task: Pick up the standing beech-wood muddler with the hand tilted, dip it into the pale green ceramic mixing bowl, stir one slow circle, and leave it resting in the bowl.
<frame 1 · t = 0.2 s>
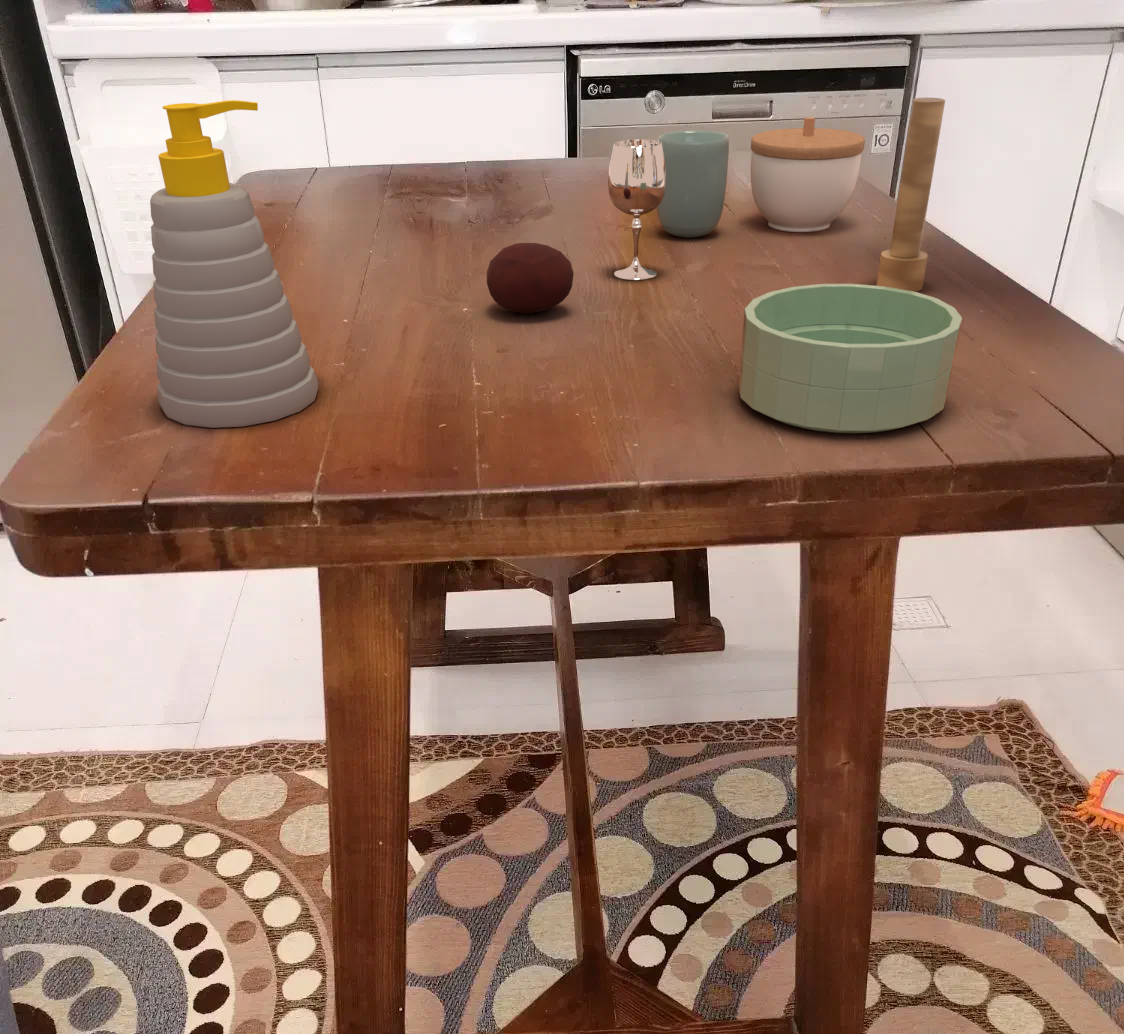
muddler: (899, 286, 108), on the table
cup: (688, 235, 127), on the table
mixing bowl: (839, 400, 84), on the table
wineglass: (635, 276, 114), on the table
soap bottle: (241, 401, 87), on the table
lidded bowl: (798, 226, 129), on the table
potato: (528, 314, 104), on the table
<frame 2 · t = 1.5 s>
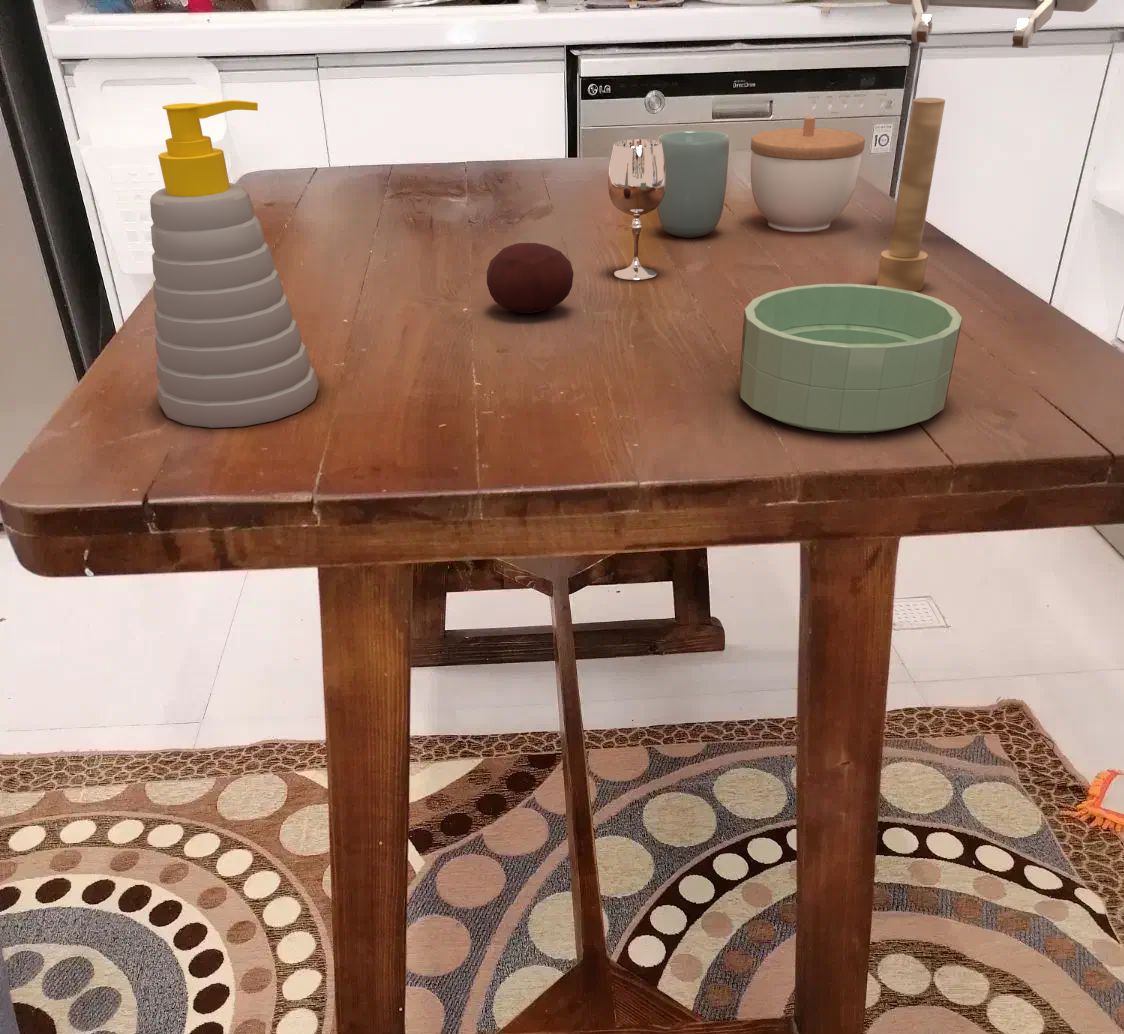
hand: (968, 40, 104), 19 cm above the table, tool tilted 45°, fingers open, 8 cm apart
nothing on the table moved.
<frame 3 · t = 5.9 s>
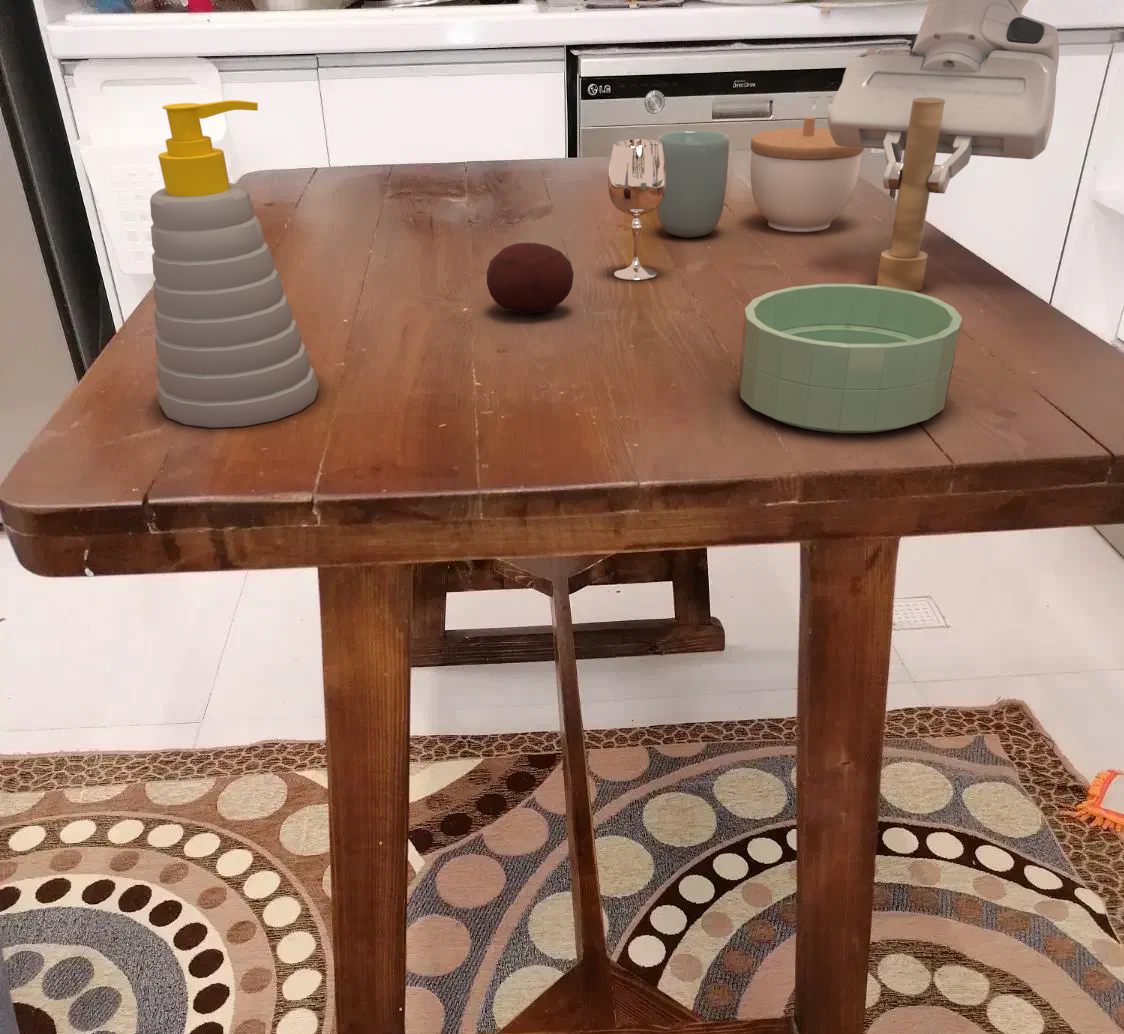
hand: (913, 187, 102), 9 cm above the table, tool tilted 45°, fingers closed on muddler, 3 cm apart
muddler: (899, 286, 108), on the table, touching gripper
everything else where it was.
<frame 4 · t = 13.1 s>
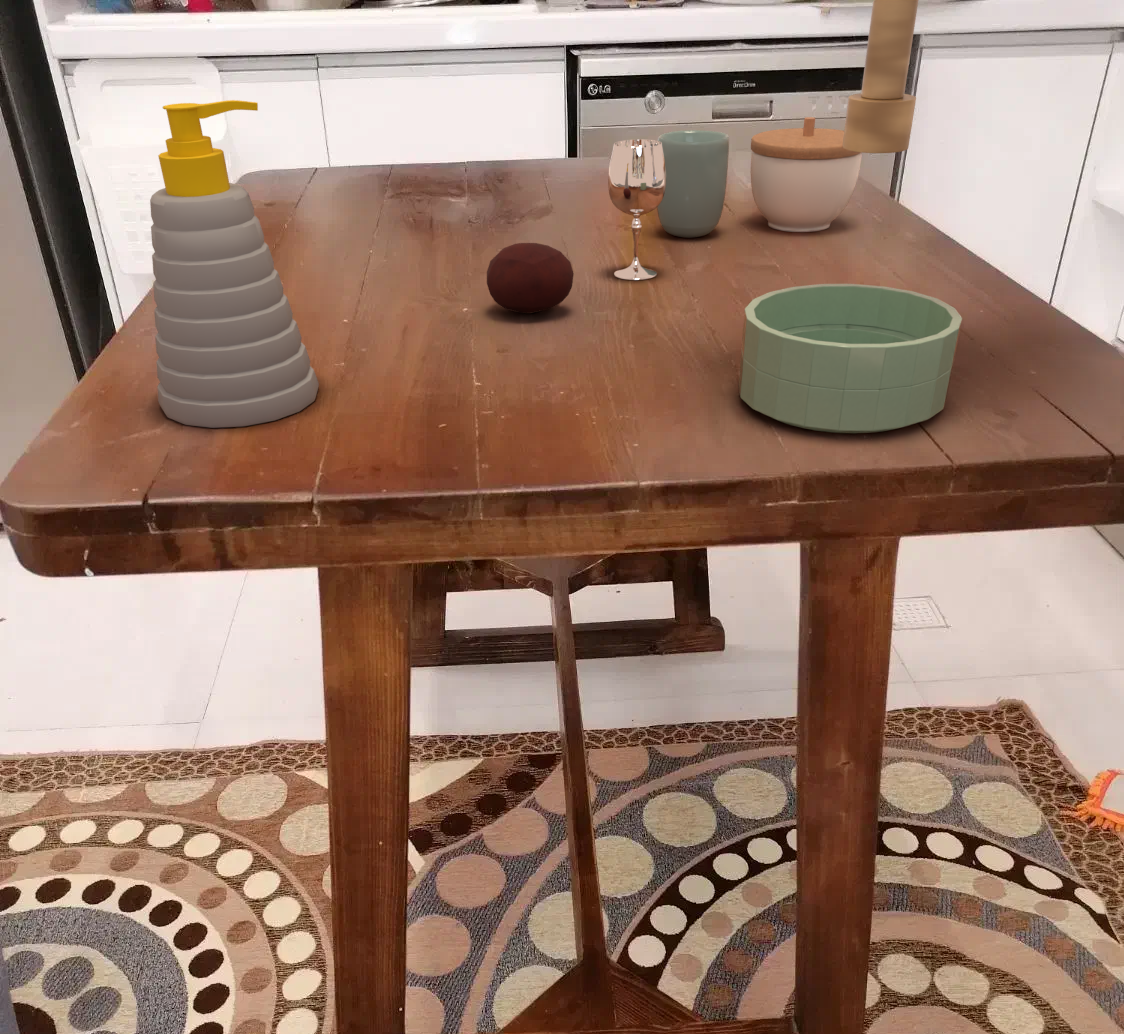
muddler: (875, 147, 75), point 17 cm above the table, touching gripper
everything else where it was.
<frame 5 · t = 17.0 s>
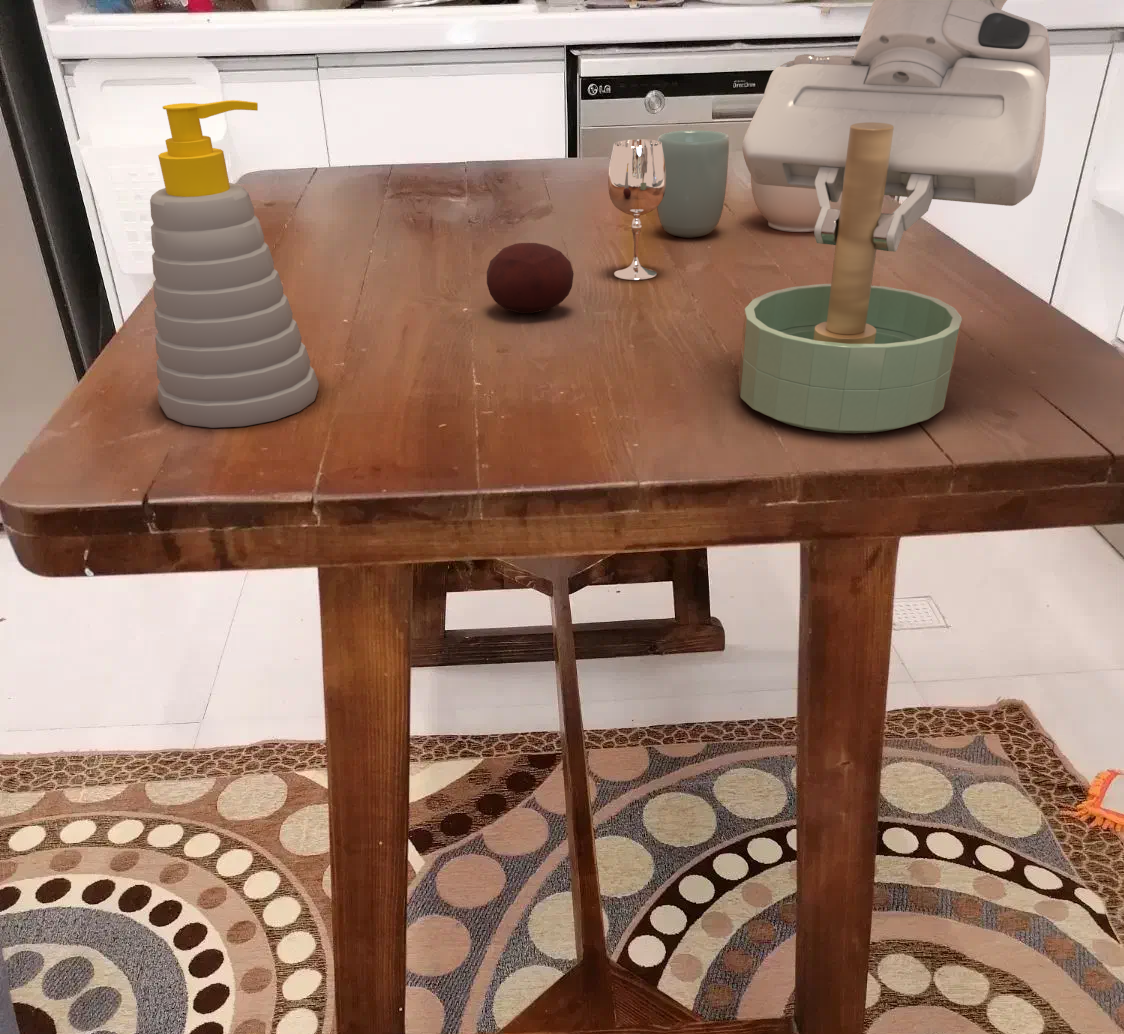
hand: (854, 242, 76), 12 cm above the table, tool tilted 45°, fingers closed on muddler, 3 cm apart
muddler: (840, 370, 82), point 3 cm above the table, touching gripper
everything else where it was.
when the fingers open (9 cm above the table, at t = 20.3 s): muddler stays where it is, resting on mixing bowl.
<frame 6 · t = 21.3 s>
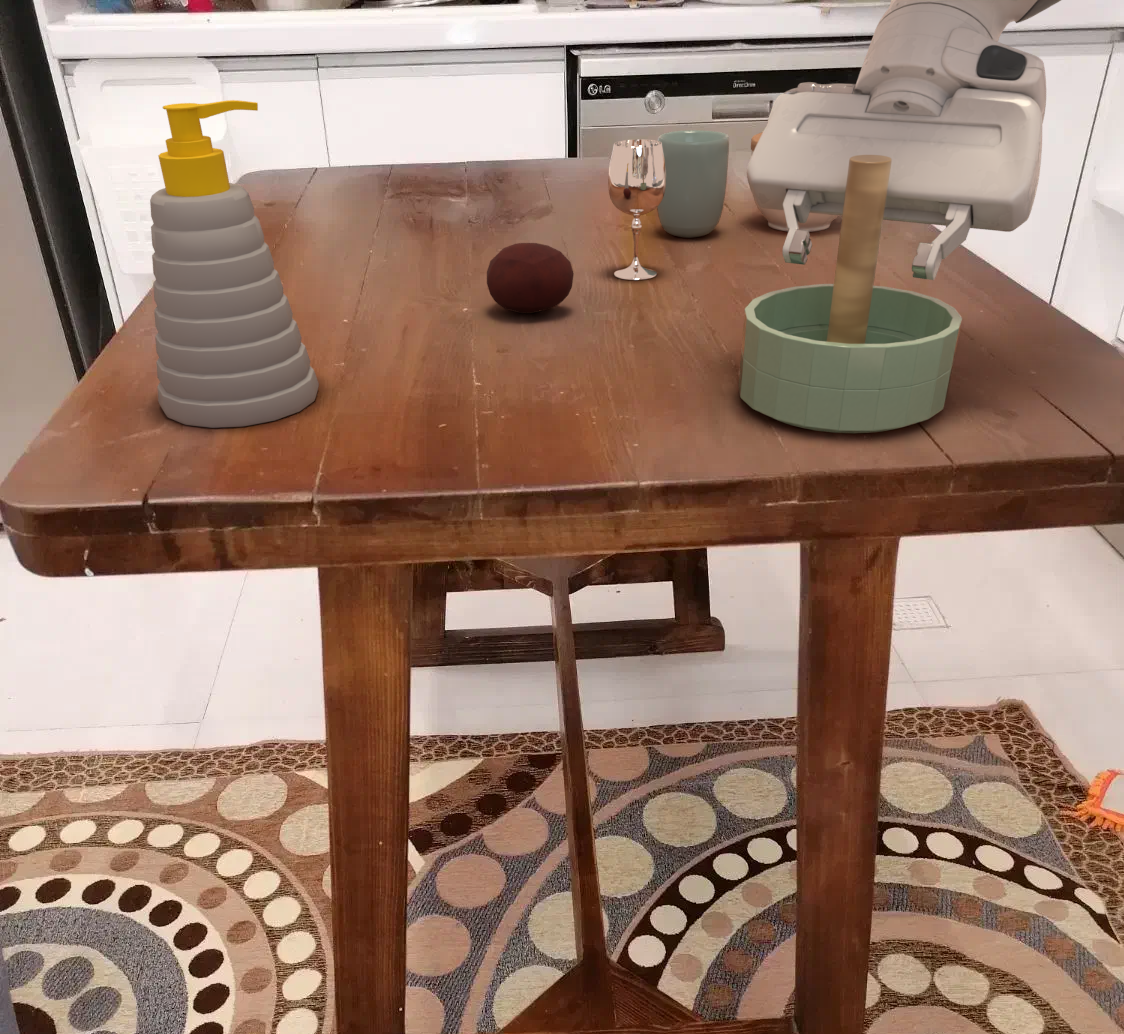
hand: (856, 266, 78), 10 cm above the table, tool tilted 45°, fingers open, 8 cm apart
muddler: (838, 392, 84), point 1 cm above the table, touching mixing bowl
everything else where it was.
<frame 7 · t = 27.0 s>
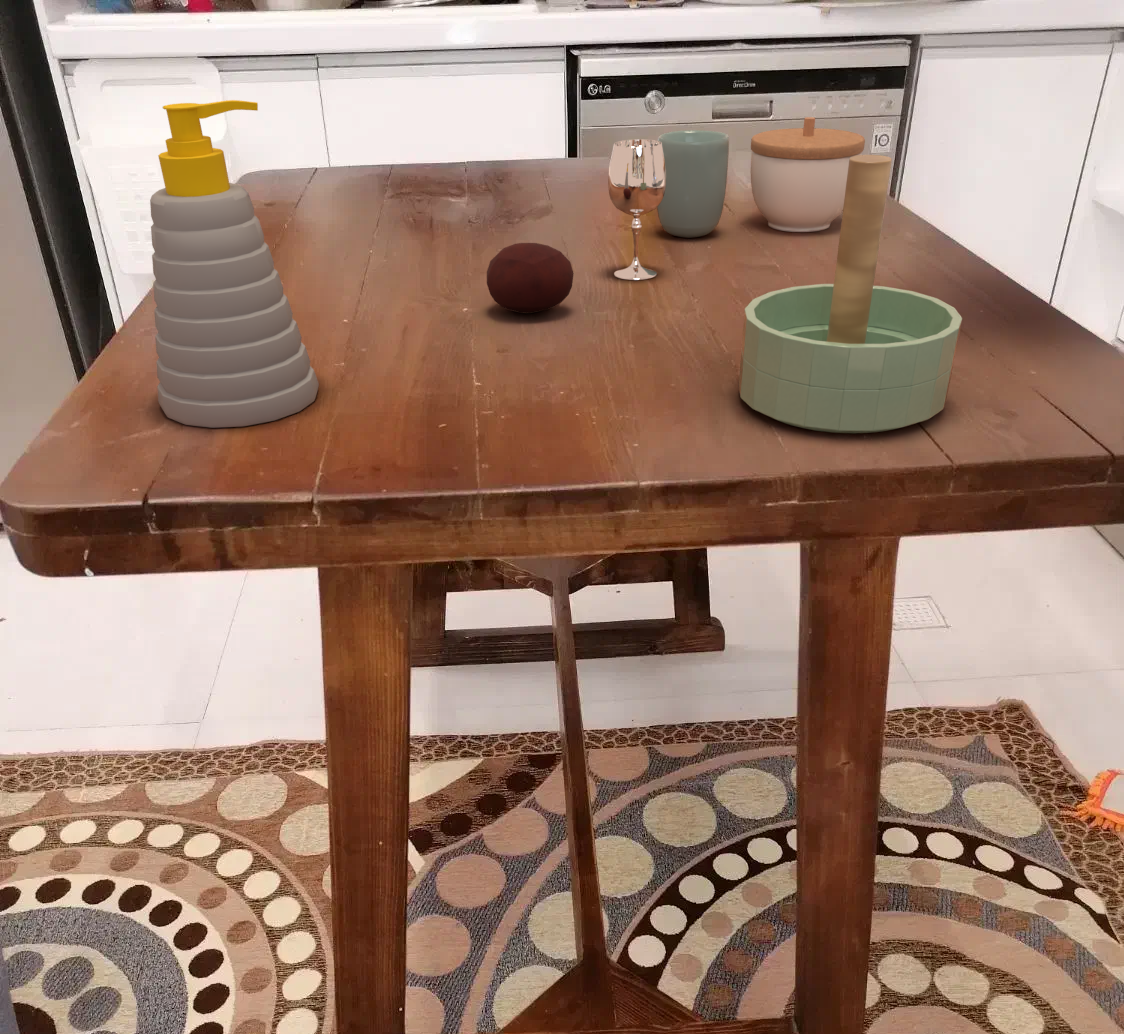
nothing on the table moved.
at the end: muddler inside the target area in the mixing bowl (0.1 cm from its centre), point 0.6 cm above the mixing bowl's base; the gripper is holding nothing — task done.
